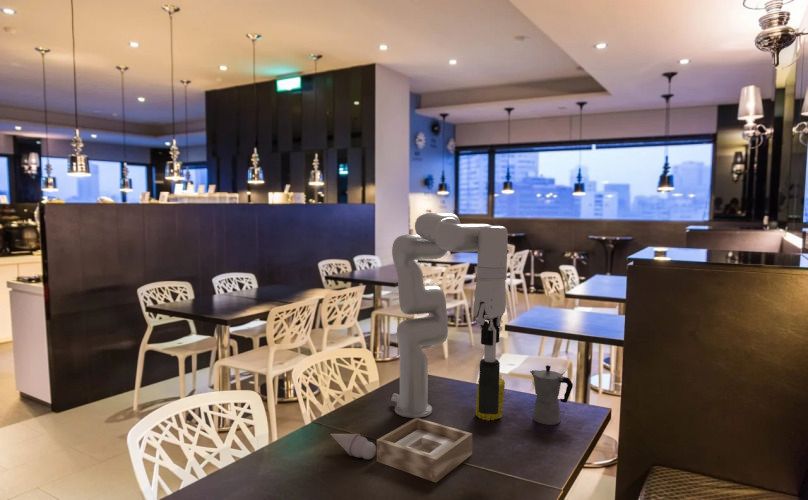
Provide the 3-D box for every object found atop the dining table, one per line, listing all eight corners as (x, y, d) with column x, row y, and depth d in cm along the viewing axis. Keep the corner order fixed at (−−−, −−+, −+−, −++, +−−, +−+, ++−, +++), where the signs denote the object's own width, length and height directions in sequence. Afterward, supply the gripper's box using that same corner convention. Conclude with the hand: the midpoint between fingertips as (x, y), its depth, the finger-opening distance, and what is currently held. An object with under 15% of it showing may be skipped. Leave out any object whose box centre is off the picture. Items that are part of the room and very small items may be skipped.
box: (376, 461, 143) (376, 439, 143) (416, 436, 159) (416, 417, 158) (435, 482, 132) (436, 459, 132) (472, 454, 148) (472, 433, 147)
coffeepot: (521, 417, 174) (522, 363, 172) (537, 409, 180) (538, 358, 179) (563, 431, 163) (565, 374, 161) (578, 423, 169) (580, 368, 168)
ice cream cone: (328, 447, 151) (373, 467, 145) (320, 441, 146) (366, 461, 140) (338, 426, 154) (382, 445, 148) (331, 420, 149) (376, 439, 143)
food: (487, 413, 180) (506, 424, 173) (463, 413, 174) (483, 424, 167) (496, 373, 181) (516, 382, 173) (473, 371, 174) (492, 380, 167)
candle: (498, 414, 136) (500, 319, 134) (478, 413, 137) (480, 318, 135) (498, 407, 141) (501, 315, 139) (479, 405, 142) (481, 314, 140)
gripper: (492, 269, 145) (491, 335, 147) (463, 275, 132) (462, 347, 133) (518, 271, 141) (516, 339, 142) (490, 278, 127) (489, 352, 129)
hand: (490, 342), depth 138 cm, fingers closed on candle, 3 cm apart
